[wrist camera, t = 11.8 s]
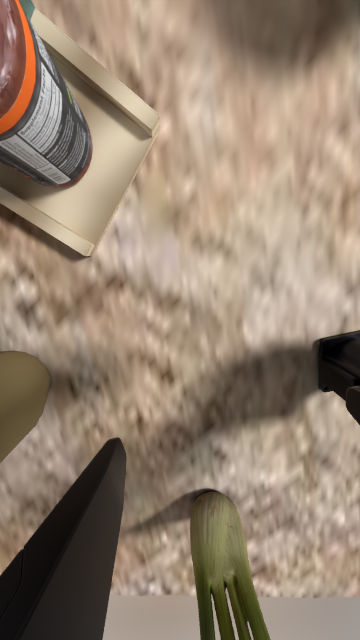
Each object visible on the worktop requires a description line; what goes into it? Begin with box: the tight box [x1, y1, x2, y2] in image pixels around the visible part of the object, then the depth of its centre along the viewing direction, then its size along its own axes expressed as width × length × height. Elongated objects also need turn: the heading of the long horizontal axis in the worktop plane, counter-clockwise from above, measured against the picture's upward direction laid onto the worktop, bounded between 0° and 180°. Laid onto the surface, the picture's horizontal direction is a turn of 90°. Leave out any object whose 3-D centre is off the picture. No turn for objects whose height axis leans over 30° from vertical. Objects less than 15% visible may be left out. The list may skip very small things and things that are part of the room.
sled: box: [0, 0, 160, 256], centre depth 13 cm, size 11×11×7 cm
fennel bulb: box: [190, 492, 270, 640], centre depth 22 cm, size 6×5×12 cm
